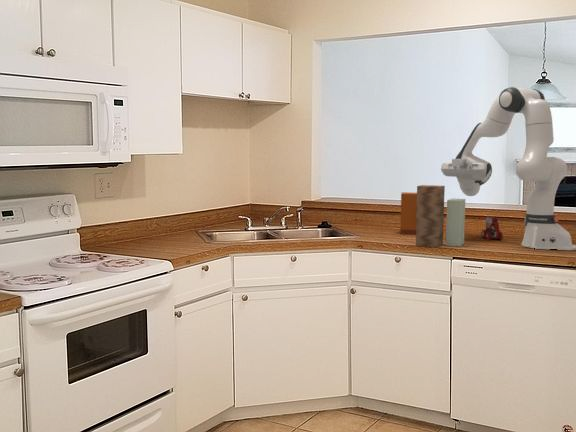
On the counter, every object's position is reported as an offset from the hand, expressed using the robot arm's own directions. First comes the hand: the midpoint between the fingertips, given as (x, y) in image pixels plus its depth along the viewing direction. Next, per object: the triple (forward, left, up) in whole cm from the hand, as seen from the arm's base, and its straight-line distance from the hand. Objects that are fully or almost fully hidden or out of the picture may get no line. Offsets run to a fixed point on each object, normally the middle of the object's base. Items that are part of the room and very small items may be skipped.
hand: (461, 161), depth 307 cm
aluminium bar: (0, +3, -2) cm, 4 cm away
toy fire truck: (-12, -17, -37) cm, 42 cm away
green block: (0, +9, -37) cm, 38 cm away
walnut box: (+10, +15, -37) cm, 41 cm away
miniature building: (+28, -20, -37) cm, 51 cm away
